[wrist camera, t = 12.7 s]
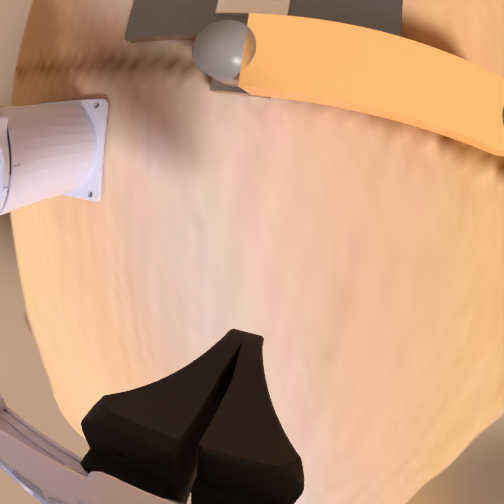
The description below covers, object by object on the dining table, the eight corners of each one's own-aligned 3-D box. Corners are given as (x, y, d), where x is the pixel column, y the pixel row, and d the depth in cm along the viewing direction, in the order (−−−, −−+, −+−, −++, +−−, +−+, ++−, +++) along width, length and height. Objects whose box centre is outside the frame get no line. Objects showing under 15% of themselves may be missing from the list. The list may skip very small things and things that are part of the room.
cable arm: (207, 91, 16) (186, 84, 13) (216, 31, 15) (198, 14, 12) (502, 158, 13) (528, 163, 11) (508, 98, 12) (534, 95, 9)
